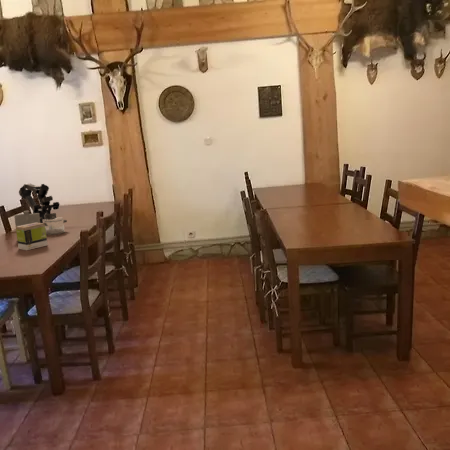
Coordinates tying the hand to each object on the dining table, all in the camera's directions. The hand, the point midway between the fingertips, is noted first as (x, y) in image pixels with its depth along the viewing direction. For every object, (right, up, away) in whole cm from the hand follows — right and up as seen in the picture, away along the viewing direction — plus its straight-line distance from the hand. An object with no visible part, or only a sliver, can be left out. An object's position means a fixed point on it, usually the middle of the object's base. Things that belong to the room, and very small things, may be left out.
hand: (49, 215), depth 381 cm
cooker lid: (+4, -3, -5) cm, 7 cm away
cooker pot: (+5, -12, -4) cm, 14 cm away
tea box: (+5, -21, -47) cm, 52 cm away
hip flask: (-6, -17, -23) cm, 29 cm away
